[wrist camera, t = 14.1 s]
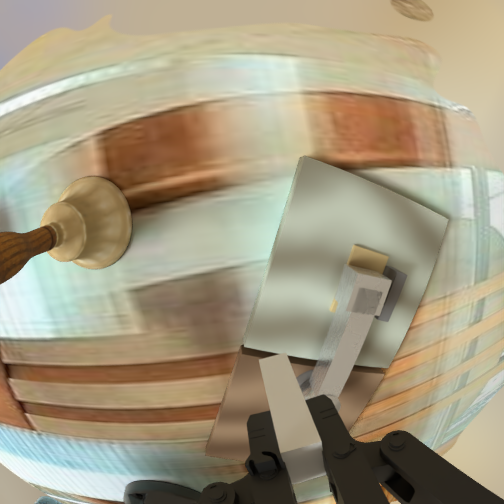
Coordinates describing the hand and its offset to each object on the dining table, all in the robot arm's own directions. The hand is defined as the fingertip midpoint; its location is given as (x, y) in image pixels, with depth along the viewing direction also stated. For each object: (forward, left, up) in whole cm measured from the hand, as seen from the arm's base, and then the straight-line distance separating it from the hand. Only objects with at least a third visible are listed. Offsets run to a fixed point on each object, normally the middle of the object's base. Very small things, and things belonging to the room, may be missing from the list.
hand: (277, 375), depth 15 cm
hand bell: (+3, +16, -11) cm, 20 cm away
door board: (-4, -8, -11) cm, 14 cm away
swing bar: (-2, -7, -8) cm, 11 cm away
